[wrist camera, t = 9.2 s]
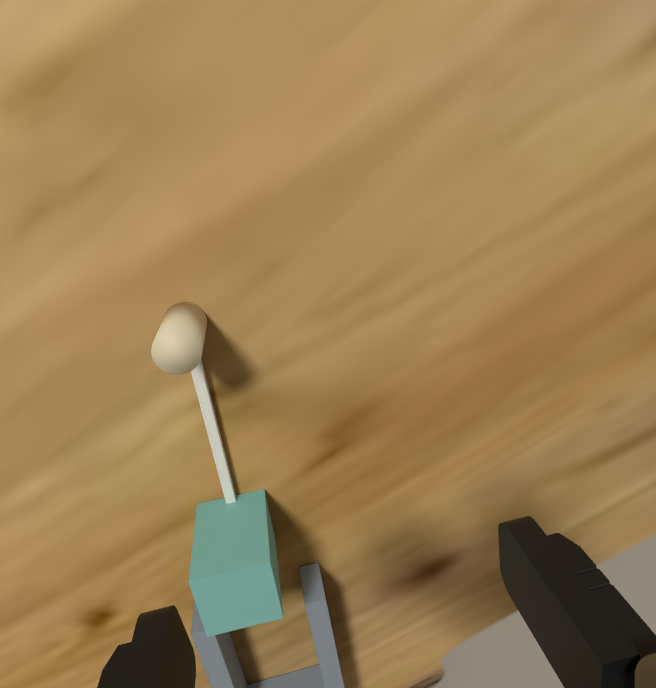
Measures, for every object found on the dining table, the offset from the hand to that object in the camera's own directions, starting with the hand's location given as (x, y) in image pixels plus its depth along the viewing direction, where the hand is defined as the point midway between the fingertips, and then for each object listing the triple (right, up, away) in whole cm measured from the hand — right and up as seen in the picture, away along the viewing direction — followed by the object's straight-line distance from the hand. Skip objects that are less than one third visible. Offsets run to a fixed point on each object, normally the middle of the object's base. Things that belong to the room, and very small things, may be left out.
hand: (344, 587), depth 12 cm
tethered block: (-8, -1, +22) cm, 23 cm away
